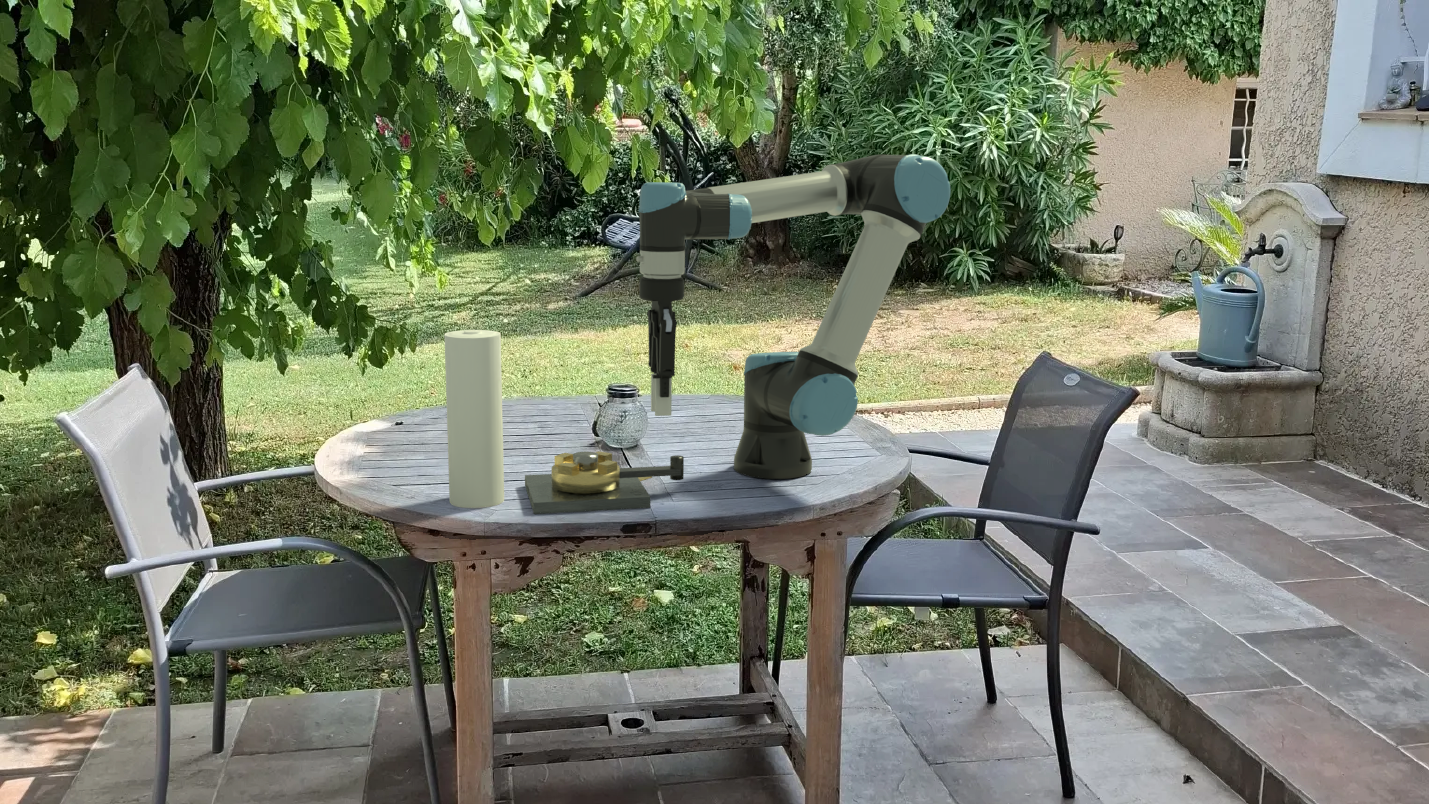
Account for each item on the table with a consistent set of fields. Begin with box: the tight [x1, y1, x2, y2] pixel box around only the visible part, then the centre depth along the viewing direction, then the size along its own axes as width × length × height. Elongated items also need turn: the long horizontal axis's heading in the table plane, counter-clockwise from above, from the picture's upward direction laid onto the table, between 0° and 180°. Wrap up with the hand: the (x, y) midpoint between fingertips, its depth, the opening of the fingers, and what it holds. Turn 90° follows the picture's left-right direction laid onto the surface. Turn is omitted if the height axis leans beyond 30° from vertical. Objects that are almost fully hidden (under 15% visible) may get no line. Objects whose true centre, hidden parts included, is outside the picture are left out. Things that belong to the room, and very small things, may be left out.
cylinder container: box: [444, 329, 505, 509], centre depth 211 cm, size 9×9×30 cm
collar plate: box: [524, 473, 653, 515], centre depth 219 cm, size 24×21×2 cm
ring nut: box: [551, 450, 685, 493], centre depth 218 cm, size 24×12×5 cm, turn 103°
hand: (661, 412), depth 209 cm, fingers open, 3 cm apart
